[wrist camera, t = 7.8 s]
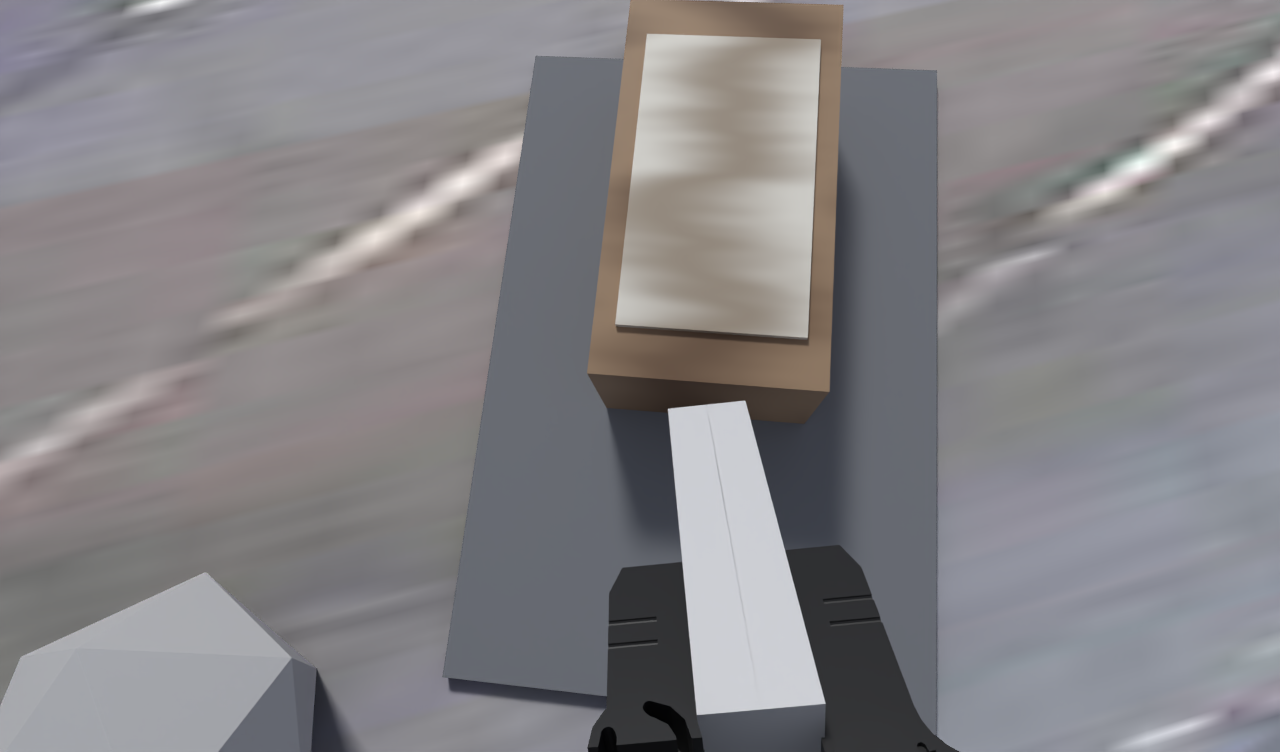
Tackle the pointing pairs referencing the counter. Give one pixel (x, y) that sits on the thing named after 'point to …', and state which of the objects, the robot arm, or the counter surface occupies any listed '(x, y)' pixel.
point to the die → (164, 682)
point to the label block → (721, 210)
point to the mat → (640, 440)
